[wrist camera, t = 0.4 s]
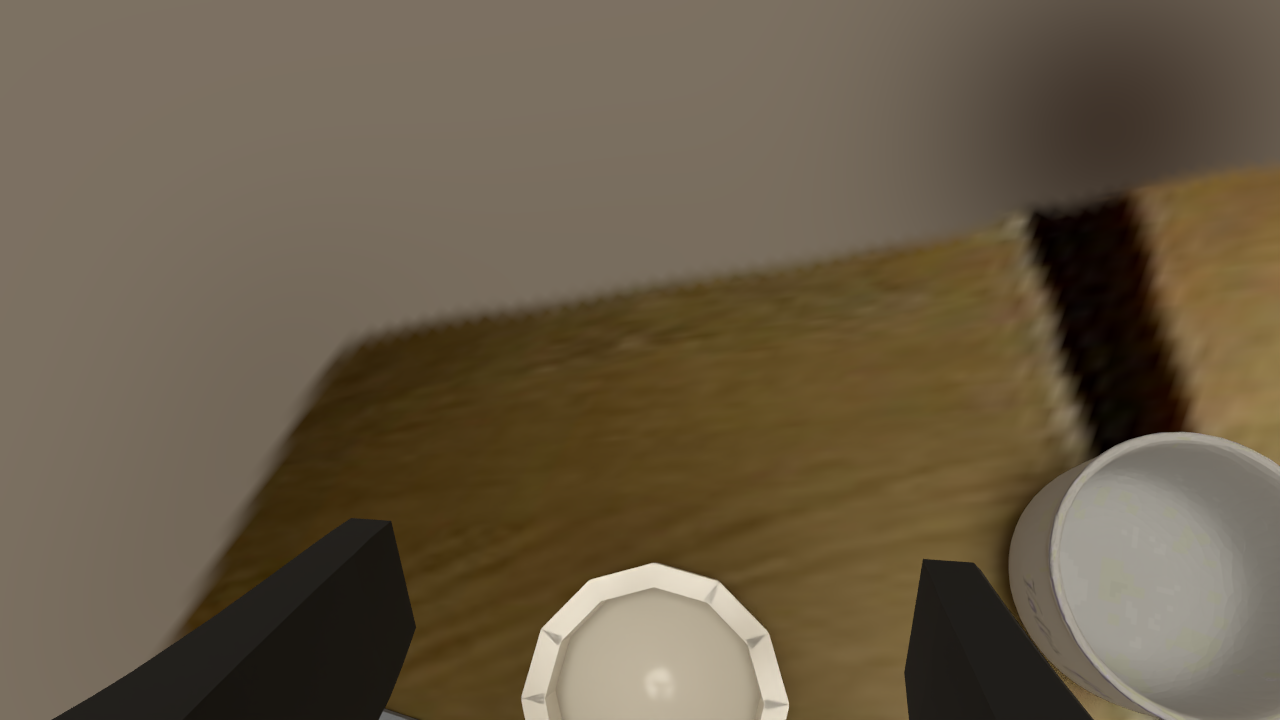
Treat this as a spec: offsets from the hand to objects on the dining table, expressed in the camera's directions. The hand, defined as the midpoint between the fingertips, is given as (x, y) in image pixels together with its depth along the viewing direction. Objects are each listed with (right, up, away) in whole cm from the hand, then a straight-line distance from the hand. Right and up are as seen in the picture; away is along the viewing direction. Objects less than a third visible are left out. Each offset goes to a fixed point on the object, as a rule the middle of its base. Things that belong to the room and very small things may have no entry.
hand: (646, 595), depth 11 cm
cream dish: (+1, -12, +26) cm, 29 cm away
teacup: (+23, -8, +26) cm, 35 cm away
